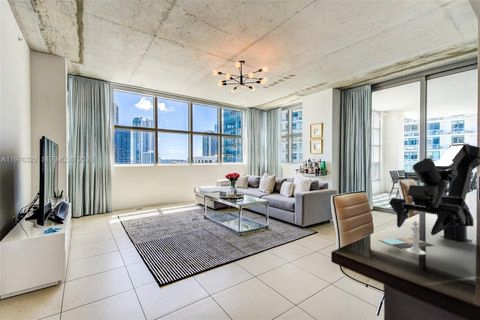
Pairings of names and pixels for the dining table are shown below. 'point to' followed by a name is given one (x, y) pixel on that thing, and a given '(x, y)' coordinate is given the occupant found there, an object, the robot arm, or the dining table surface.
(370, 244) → the dining table surface
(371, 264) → the dining table surface
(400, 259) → the dining table surface
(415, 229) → the chess piece
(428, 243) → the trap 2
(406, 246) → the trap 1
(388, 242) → the pad
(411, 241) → the walnut board
